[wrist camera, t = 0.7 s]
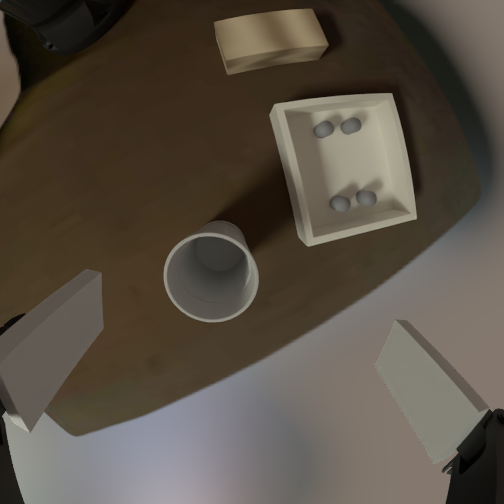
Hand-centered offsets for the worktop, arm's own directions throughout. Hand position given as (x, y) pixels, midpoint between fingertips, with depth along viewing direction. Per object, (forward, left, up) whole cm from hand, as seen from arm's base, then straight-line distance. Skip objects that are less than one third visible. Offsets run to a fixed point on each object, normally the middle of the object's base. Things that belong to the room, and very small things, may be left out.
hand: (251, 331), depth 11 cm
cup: (+1, -3, -24) cm, 24 cm away
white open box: (-5, +14, -24) cm, 28 cm away
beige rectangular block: (-23, +9, -24) cm, 34 cm away
